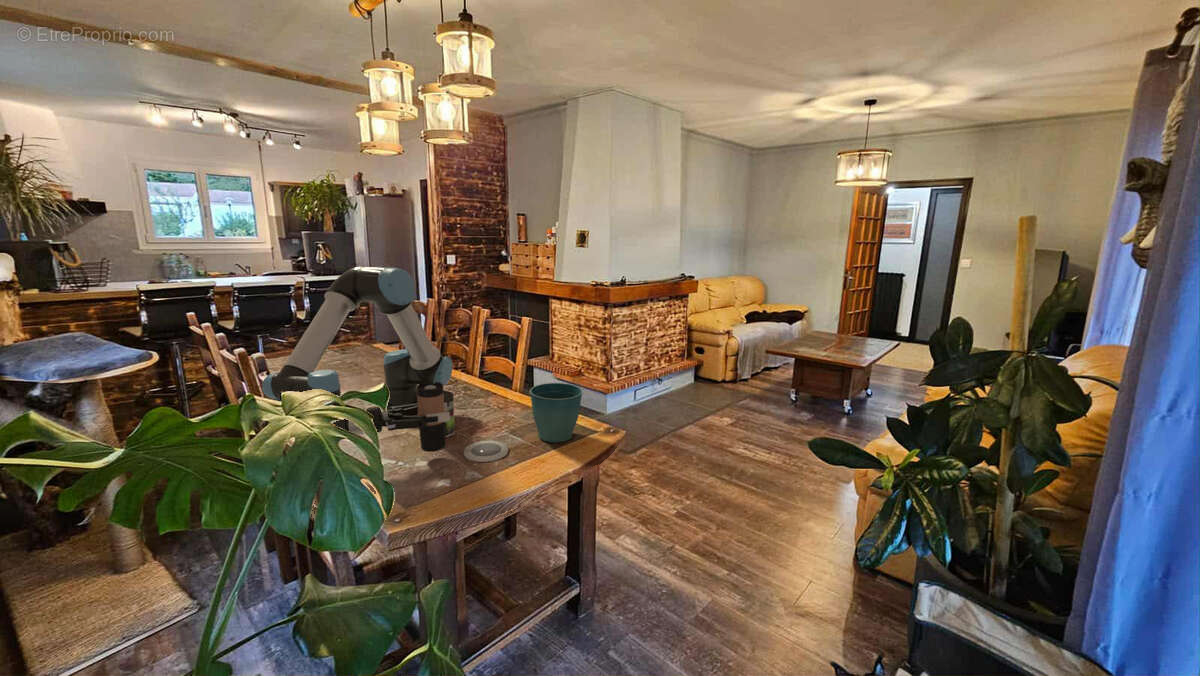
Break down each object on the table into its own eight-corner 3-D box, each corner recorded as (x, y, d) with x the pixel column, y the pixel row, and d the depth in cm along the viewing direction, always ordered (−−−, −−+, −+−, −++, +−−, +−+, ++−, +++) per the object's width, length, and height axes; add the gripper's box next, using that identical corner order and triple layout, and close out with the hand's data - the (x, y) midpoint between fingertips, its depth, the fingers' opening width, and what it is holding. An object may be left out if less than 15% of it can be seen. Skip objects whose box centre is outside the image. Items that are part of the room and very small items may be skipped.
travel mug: (431, 454, 143) (427, 391, 138) (414, 448, 146) (411, 386, 142) (451, 445, 149) (448, 384, 144) (435, 439, 153) (432, 380, 148)
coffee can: (460, 429, 171) (459, 391, 168) (445, 440, 161) (444, 401, 158) (434, 426, 173) (432, 389, 170) (418, 437, 163) (416, 398, 160)
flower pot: (553, 422, 180) (553, 379, 176) (591, 434, 170) (592, 389, 166) (519, 437, 165) (518, 391, 162) (558, 452, 155) (559, 403, 152)
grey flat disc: (461, 446, 157) (461, 443, 157) (503, 440, 163) (503, 438, 162) (466, 464, 145) (466, 462, 144) (512, 458, 150) (512, 455, 150)
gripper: (369, 419, 149) (446, 411, 157) (365, 447, 130) (451, 436, 139) (367, 397, 147) (445, 389, 155) (362, 421, 129) (450, 412, 137)
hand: (448, 411), depth 147 cm, fingers closed on travel mug, 7 cm apart
